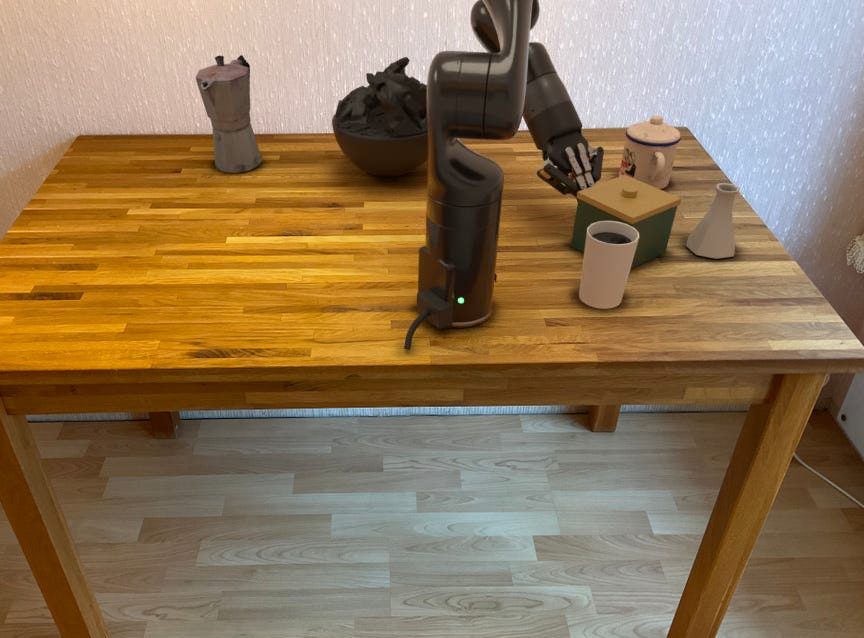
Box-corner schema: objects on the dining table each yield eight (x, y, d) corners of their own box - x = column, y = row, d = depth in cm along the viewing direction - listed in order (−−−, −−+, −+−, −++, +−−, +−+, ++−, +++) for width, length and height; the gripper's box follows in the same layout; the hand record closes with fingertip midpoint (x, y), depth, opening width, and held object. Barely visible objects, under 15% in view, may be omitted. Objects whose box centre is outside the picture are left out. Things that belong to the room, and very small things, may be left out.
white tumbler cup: (606, 280, 106) (619, 217, 99) (634, 304, 101) (650, 239, 94) (566, 290, 104) (576, 226, 98) (593, 314, 99) (606, 249, 93)
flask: (728, 237, 115) (746, 177, 109) (741, 261, 109) (761, 199, 103) (680, 236, 116) (696, 176, 110) (690, 259, 110) (708, 197, 104)
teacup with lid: (611, 171, 136) (623, 107, 129) (661, 171, 135) (676, 107, 128) (627, 199, 126) (641, 133, 119) (680, 199, 126) (697, 133, 119)
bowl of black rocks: (380, 205, 125) (379, 94, 114) (313, 169, 138) (305, 65, 126) (465, 174, 135) (471, 68, 124) (395, 143, 148) (395, 44, 136)
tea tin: (621, 274, 107) (634, 211, 101) (568, 245, 114) (578, 185, 108) (667, 253, 112) (683, 191, 105) (614, 227, 118) (626, 168, 112)
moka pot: (196, 176, 136) (176, 64, 124) (233, 145, 147) (218, 40, 135) (243, 182, 134) (228, 68, 121) (277, 150, 145) (266, 43, 133)
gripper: (530, 108, 108) (579, 216, 108) (593, 90, 114) (639, 192, 113) (502, 132, 115) (548, 234, 114) (563, 114, 121) (607, 211, 120)
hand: (594, 213), depth 114 cm, fingers closed
